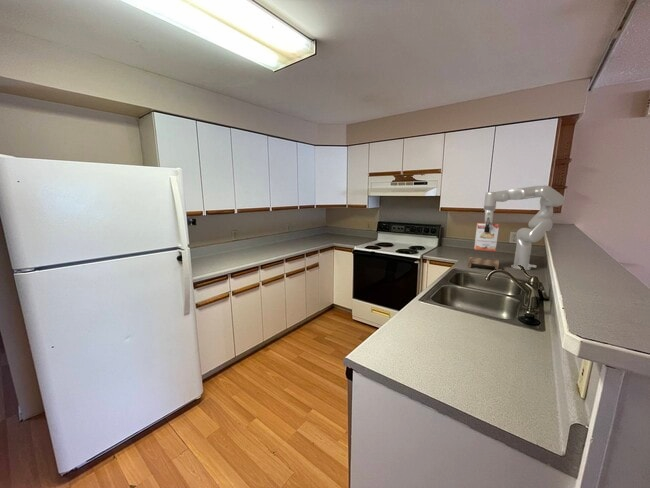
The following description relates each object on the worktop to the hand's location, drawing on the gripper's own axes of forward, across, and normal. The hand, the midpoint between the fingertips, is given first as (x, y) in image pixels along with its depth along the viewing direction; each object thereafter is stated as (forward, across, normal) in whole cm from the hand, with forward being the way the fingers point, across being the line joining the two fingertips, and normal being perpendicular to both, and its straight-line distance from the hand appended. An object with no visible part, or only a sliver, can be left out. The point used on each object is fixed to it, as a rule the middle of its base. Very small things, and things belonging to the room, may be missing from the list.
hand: (486, 231), depth 204 cm
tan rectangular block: (+29, 0, 0) cm, 29 cm away
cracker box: (+15, 0, 0) cm, 15 cm away
